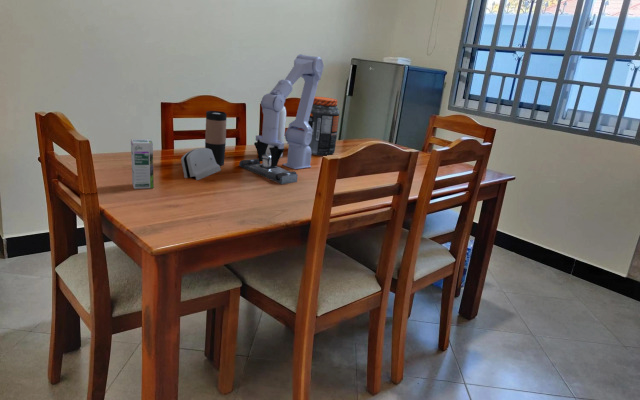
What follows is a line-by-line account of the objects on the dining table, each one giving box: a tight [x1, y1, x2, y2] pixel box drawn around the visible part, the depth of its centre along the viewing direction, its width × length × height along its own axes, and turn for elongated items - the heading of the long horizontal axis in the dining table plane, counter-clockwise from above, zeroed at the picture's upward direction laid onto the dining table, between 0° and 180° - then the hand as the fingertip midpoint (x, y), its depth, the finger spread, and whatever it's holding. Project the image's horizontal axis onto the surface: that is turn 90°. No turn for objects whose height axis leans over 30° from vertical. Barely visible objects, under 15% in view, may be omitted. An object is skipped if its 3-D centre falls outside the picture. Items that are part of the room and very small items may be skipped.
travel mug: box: [204, 110, 228, 167], centre depth 167 cm, size 8×8×20 cm
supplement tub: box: [308, 96, 340, 157], centre depth 207 cm, size 16×16×26 cm
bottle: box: [266, 105, 287, 158], centre depth 190 cm, size 8×8×30 cm
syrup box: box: [130, 138, 155, 190], centre depth 134 cm, size 6×6×14 cm
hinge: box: [180, 147, 222, 181], centre depth 155 cm, size 17×5×10 cm, turn 164°
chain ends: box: [238, 158, 299, 185], centre depth 165 cm, size 8×26×3 cm, turn 45°
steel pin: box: [261, 154, 271, 169], centre depth 164 cm, size 4×4×7 cm
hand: (267, 163), depth 164 cm, fingers open, 7 cm apart
